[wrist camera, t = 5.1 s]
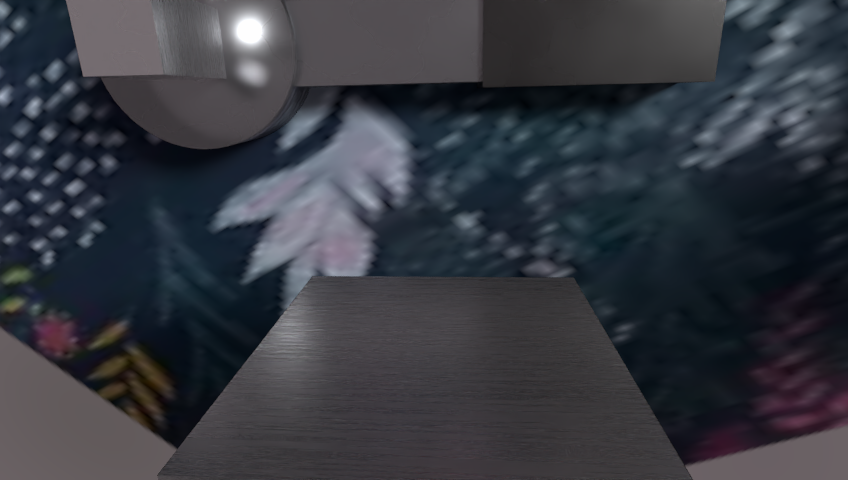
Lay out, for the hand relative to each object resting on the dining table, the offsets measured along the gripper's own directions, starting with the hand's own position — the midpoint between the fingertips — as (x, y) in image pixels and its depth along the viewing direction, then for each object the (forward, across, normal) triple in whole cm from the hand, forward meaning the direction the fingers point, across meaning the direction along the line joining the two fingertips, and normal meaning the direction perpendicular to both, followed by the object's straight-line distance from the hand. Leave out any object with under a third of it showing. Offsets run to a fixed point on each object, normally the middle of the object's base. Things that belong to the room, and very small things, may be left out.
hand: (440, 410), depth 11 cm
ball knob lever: (+11, +2, -9) cm, 14 cm away
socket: (+1, 0, 0) cm, 1 cm away
